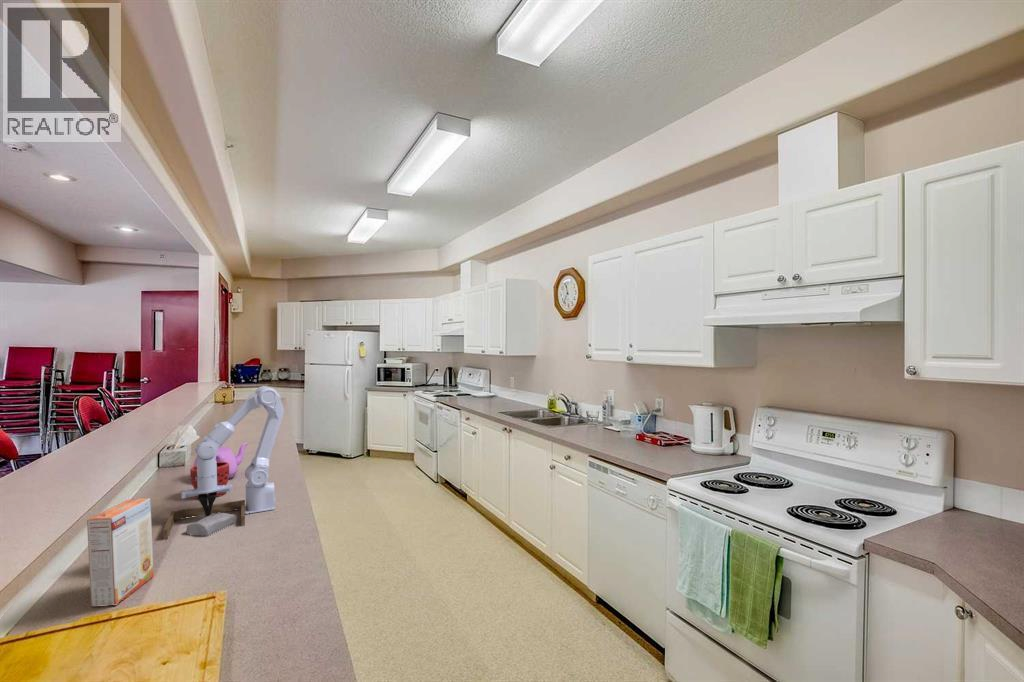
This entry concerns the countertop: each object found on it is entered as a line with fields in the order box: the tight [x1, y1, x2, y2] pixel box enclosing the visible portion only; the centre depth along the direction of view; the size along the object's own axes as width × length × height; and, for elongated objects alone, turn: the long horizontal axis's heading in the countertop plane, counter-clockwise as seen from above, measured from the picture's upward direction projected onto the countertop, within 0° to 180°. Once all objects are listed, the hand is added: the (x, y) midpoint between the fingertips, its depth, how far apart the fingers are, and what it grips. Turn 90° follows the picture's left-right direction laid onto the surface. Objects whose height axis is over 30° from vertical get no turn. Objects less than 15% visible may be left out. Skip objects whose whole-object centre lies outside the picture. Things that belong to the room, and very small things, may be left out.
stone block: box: [186, 512, 236, 537], centre depth 159 cm, size 12×5×10 cm
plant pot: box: [189, 462, 230, 499], centre depth 193 cm, size 13×13×12 cm
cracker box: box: [86, 497, 155, 607], centre depth 120 cm, size 14×6×21 cm, turn 5°
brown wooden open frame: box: [162, 499, 246, 540], centre depth 165 cm, size 22×19×3 cm
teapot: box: [192, 441, 251, 481], centre depth 217 cm, size 23×21×15 cm
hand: (208, 515), depth 167 cm, fingers closed
